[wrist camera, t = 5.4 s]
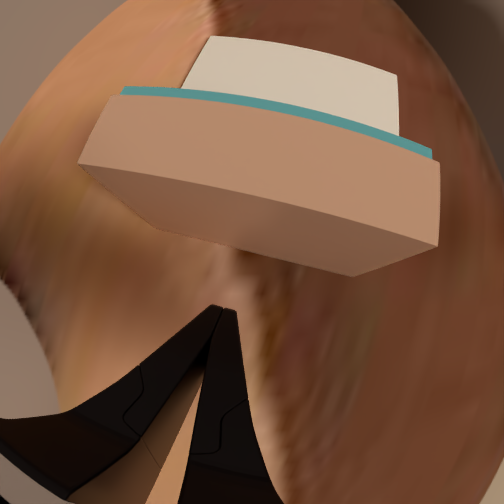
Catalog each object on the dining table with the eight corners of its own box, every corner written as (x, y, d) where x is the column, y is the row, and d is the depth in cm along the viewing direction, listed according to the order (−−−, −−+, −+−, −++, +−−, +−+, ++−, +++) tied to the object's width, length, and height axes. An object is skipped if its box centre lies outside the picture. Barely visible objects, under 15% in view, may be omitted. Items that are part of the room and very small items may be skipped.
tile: (352, 277, 16) (437, 246, 8) (156, 228, 17) (76, 163, 8) (362, 219, 17) (438, 148, 8) (174, 175, 18) (118, 83, 9)
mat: (392, 217, 17) (394, 215, 17) (150, 161, 18) (148, 158, 18) (395, 78, 19) (396, 75, 19) (211, 38, 20) (210, 35, 20)
